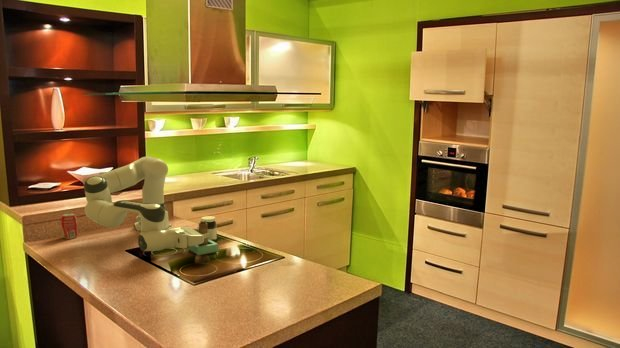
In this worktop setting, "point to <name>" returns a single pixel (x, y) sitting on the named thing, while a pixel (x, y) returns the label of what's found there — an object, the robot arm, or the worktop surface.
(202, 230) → the brown textured cylinder
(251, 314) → the worktop surface
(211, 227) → the spread jar
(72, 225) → the soda can
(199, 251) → the teal square tray
